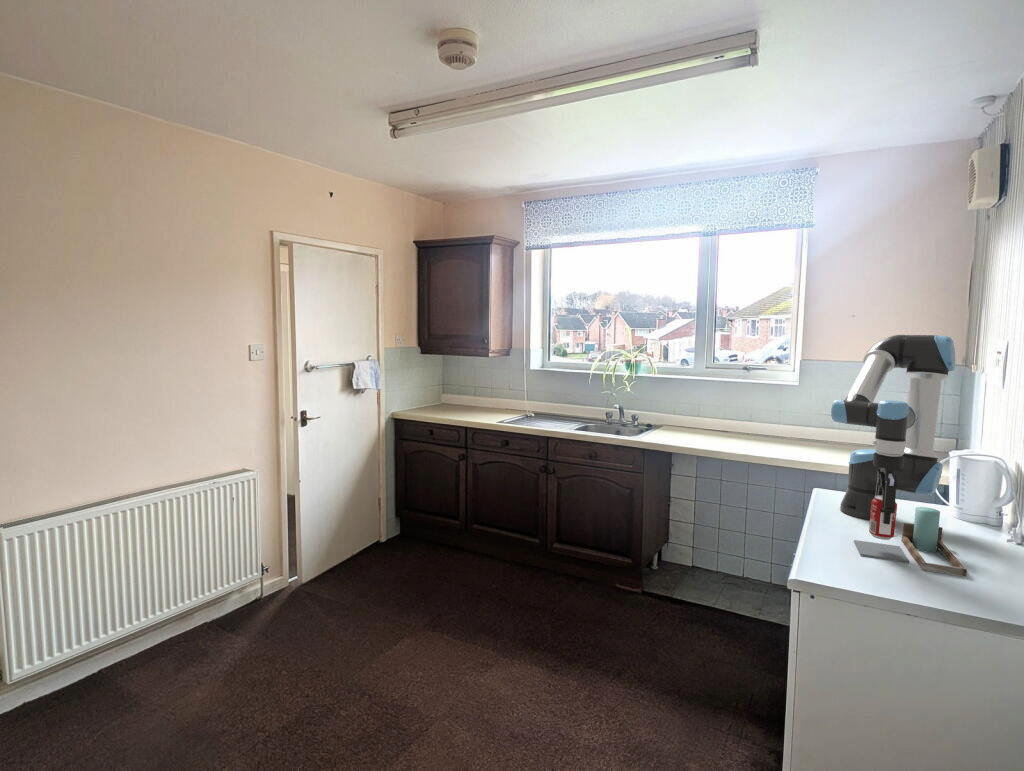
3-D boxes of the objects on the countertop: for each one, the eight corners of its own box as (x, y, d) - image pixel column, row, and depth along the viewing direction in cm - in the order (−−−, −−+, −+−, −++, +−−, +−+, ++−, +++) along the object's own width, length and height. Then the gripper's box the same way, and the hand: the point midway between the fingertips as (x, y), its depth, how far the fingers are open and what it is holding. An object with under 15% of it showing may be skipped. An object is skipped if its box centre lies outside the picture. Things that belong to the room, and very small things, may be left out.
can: (910, 543, 178) (913, 505, 177) (933, 546, 176) (936, 508, 175) (914, 550, 173) (918, 511, 172) (939, 553, 171) (942, 514, 169)
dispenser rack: (901, 540, 181) (903, 522, 180) (939, 546, 177) (941, 527, 176) (921, 569, 159) (923, 549, 158) (966, 576, 155) (968, 555, 154)
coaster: (853, 541, 179) (854, 539, 179) (899, 548, 175) (899, 546, 174) (860, 555, 168) (860, 553, 168) (909, 562, 163) (909, 560, 163)
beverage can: (897, 541, 167) (901, 501, 166) (873, 539, 169) (877, 500, 167) (888, 533, 173) (892, 495, 172) (865, 531, 175) (868, 493, 173)
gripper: (868, 446, 178) (861, 518, 181) (880, 458, 161) (873, 538, 163) (896, 448, 176) (889, 522, 178) (912, 461, 158) (905, 543, 160)
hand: (882, 530), depth 170 cm, fingers closed on beverage can, 6 cm apart
